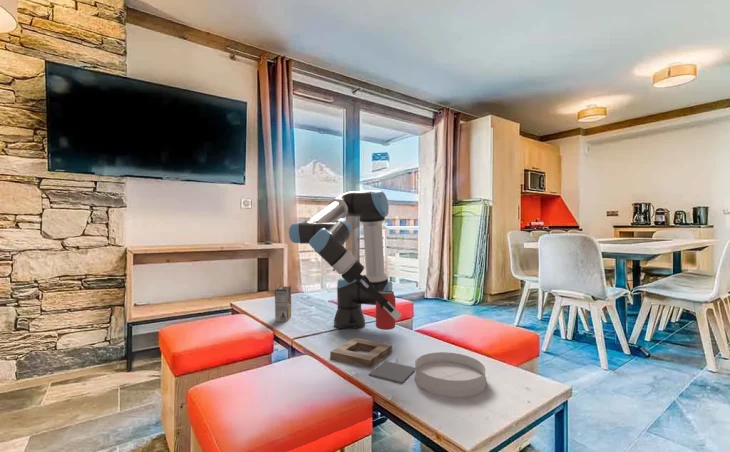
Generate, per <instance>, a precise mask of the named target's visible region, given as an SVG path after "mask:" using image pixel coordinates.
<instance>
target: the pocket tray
mask: <svg viewBox="0 0 730 452" xmlns="http://www.w3.org/2000/svg"><path fill="white" fill-rule="evenodd" d="M357 350H362V351H367V352H368V353H361V352H357ZM392 352H393V345H392V344H388V343H384V342H379V341H378V342H377V341H373V340H367V339H363V338H358V337H354V338H352V339H350V340H348V341H347V342H344V343H343V344H341V345H339V346H337V347H335V348H333V349H331V350H330V351H329V355H330V356H329V357H330V359H333V360H338V361H341V362H345V363H349V364H354V365H356V366H363V367H367V368H371V367H374V365H376V364H377V363H379V361H381V360H383V359H384V358H385V357H387V356H388V355H389V354H391V353H392Z"/></svg>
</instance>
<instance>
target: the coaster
mask: <svg viewBox="0 0 730 452" xmlns="http://www.w3.org/2000/svg"><path fill="white" fill-rule="evenodd" d="M412 374H415V367H414V366H411V365H405V364H400V363H395V362H392V361H387V360H385V361H383V362H382V363H380V364H379V365H378V366H377V367H375V368H374V369H373V370H371V371H370V372H369V373H368V376H370V377H374V378H378V379H382V380H386V381H390V382H394V383H397V384H398V383H399V384H403V383H405V381H407V380H408V379H409V377H410V376H411V375H412Z"/></svg>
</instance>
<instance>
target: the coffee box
mask: <svg viewBox="0 0 730 452" xmlns="http://www.w3.org/2000/svg"><path fill="white" fill-rule="evenodd" d="M274 314H275V315H274V316H275V317H274V318H275V322H288V321H289V320H290V319H291V317H292V286H291V285H290V286H278V287H277V288H275V289H274Z"/></svg>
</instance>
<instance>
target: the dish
mask: <svg viewBox="0 0 730 452" xmlns="http://www.w3.org/2000/svg"><path fill="white" fill-rule="evenodd" d="M485 367H486V366H485V365H484V364H483V363H482V362H481V361H480V360H478V359H476V358H474V357H471V356H468V355H464V354H462V353H461V354H460V353H454V352H448V351H447V352H445V351H443V352H442V351H441V352H439V351H438V352H430V353H426V354H423V355H421V356H419V357H417V358H416V360H415V367H414V368H415V372H414V381H415V382H416V384H417V385H418V387H420V388H421V389H423V390H425V391H427V392H428V393H431V394H434V395H437V396H441V397H442V396H444V397H449V398H466V397H472V396H476V395H479V394H480V393H483V391H484V390H485V389H486V386H487V377H486V368H485Z"/></svg>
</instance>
